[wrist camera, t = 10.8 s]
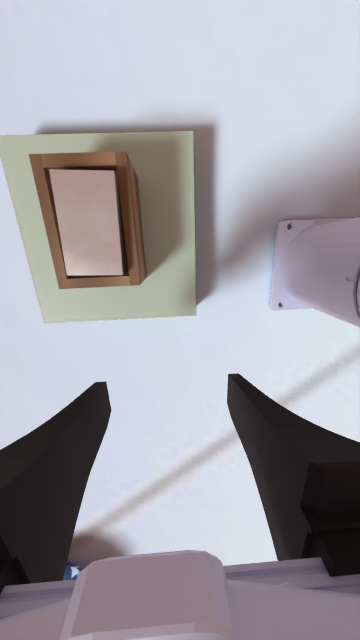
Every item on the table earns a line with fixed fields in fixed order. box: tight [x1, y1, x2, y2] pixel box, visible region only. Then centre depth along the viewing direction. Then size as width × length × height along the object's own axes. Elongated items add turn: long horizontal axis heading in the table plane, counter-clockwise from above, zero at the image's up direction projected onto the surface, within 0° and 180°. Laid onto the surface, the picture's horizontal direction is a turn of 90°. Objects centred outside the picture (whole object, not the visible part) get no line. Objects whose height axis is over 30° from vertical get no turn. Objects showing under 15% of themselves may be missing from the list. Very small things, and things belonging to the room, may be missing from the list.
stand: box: [0, 131, 196, 323], centre depth 17 cm, size 13×13×2 cm
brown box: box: [29, 151, 147, 289], centre depth 14 cm, size 5×7×4 cm
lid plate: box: [49, 169, 128, 275], centre depth 12 cm, size 3×5×2 cm, turn 0°
